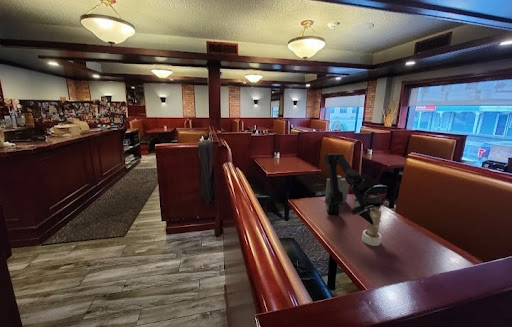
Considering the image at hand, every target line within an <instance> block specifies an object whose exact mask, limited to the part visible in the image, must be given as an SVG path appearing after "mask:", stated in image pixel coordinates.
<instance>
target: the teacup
mask: <svg viewBox="0 0 512 327" xmlns="http://www.w3.org/2000/svg"><path fill="white" fill-rule="evenodd" d="M355 199H356V197H355V196H354V195H353V205H354V208H356V207H358V206H360V205H359V203H358V201H355Z"/></svg>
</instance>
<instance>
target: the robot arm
mask: <svg viewBox="0 0 512 327" xmlns="http://www.w3.org/2000/svg"><path fill="white" fill-rule="evenodd" d="M323 160H324V163H325V165H326V167H327V168H328V176H329V177H328V179H330V187H331V190H330V192H329V197H328V198H327V199H326V202H325V204H326V205H327V209H326V212H327V214H328V215H331V216H332V215H333V216H339V213H340V206H342V204H343V203H342V202H343V193H342V192H340V190H339V186H338V177H337V176H338V169H337V166H339V168H340V169H341V170H342V172H343V173H344V178H345V180H346V182H347V183H348V185H351V186H349V187H348V192H352V193H353V197H354V196H355V197H356V199H355V201H358V203H359V205H360V206H358V207H354V208H352V209H351V212H350V213H351V214H352V215H353V216H355V215H357V216H359V217H361V218H362V219H364V220H365V221H366V222H367V223H368V222H369V223H370V224H371V225H373V224H374V223H373V221H372V219H371V217H370V209H372V208H374V207H378V208H379V210H380V209H381V207H382V206H383V205H385V203H384V201H383V200H382V199H383V197H382V195H381V194H380V193H379V192H378V193H374V195H372V196H371V195H370V194H369V193H366V192H368V191H369V190H372V189H373V188H374V187H375V181H374V180H373V179H372V178H370V177H369V176H368V175H364V176H362V175H361V174H360V173H359V172H358V171H357V170H354V169H353V168H352V167H351V165H350V164H349V162H348V161H347V160H346V158H345V156H344V154H343V153H326V154H325V155H324V157H323ZM381 220H382V219H380V223H381V222H382V221H381Z"/></svg>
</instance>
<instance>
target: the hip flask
mask: <svg viewBox="0 0 512 327" xmlns="http://www.w3.org/2000/svg"><path fill="white" fill-rule="evenodd" d="M337 177H338V186H339V190H340V192H342V193H343V202H342V204H343V203H344V202H345V203H347V200H348V198H347V197H348V192H349V184H348V183H347V182H346V180H345V177H343V178H342V176H341V175H337ZM330 190H331V187H330V178H326V186H325V195H324V203H326V199H327V198H328V197H329V192H330Z"/></svg>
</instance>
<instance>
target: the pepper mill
mask: <svg viewBox="0 0 512 327" xmlns="http://www.w3.org/2000/svg"><path fill="white" fill-rule="evenodd" d="M369 211H370V212H369V215H370V217H371V219H372V221H373V223H374V224H373V225H371V224H370V223H369V222H368V221H367V228H366V230H367V233H366V234H367V235H368V236H370V237H374V238H376V237H377V235H378V233H379V228H380V223H381V222H380V220H381V217H382V210H380V209H379V208H378V207H374V208H372V209H369Z"/></svg>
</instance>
